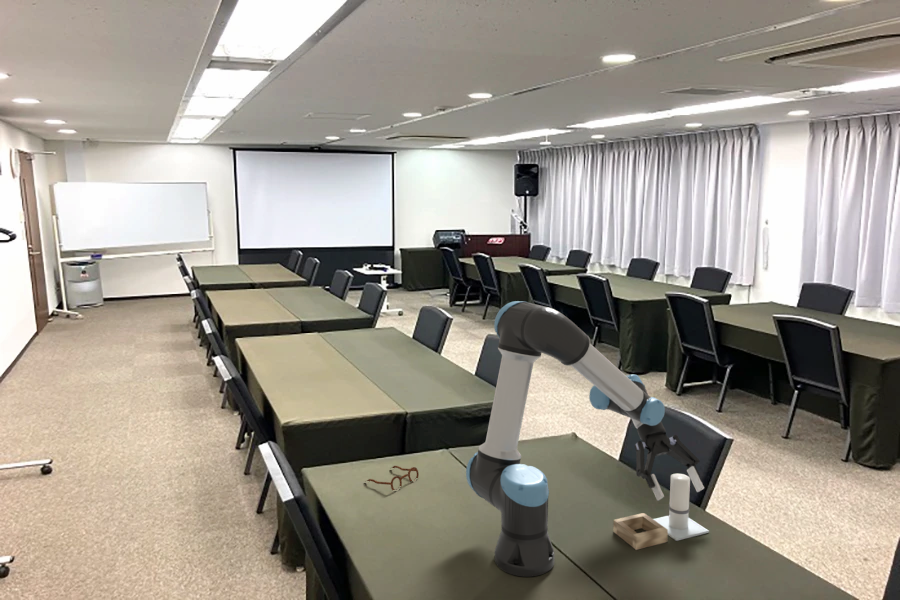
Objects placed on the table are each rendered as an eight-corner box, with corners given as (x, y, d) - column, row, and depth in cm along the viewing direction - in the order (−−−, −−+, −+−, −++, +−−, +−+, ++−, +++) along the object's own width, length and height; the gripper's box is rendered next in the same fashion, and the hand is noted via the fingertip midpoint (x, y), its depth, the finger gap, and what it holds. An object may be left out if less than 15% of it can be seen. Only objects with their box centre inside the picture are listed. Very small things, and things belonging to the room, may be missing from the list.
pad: (676, 540, 172) (676, 538, 171) (649, 521, 182) (649, 519, 182) (708, 532, 175) (708, 530, 175) (680, 514, 186) (680, 512, 185)
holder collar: (636, 549, 168) (636, 537, 167) (613, 531, 177) (613, 519, 176) (667, 541, 171) (667, 529, 171) (643, 524, 180) (643, 512, 180)
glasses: (393, 495, 202) (392, 480, 201) (363, 484, 210) (362, 470, 209) (419, 480, 212) (419, 465, 212) (390, 470, 220) (389, 457, 219)
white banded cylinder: (677, 531, 175) (679, 483, 173) (663, 522, 180) (665, 475, 178) (693, 527, 177) (695, 479, 175) (679, 518, 182) (681, 471, 180)
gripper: (676, 424, 196) (709, 491, 185) (606, 436, 187) (636, 507, 176) (689, 413, 190) (724, 481, 179) (618, 424, 182) (650, 497, 170)
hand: (681, 494), depth 177 cm, fingers open, 13 cm apart
